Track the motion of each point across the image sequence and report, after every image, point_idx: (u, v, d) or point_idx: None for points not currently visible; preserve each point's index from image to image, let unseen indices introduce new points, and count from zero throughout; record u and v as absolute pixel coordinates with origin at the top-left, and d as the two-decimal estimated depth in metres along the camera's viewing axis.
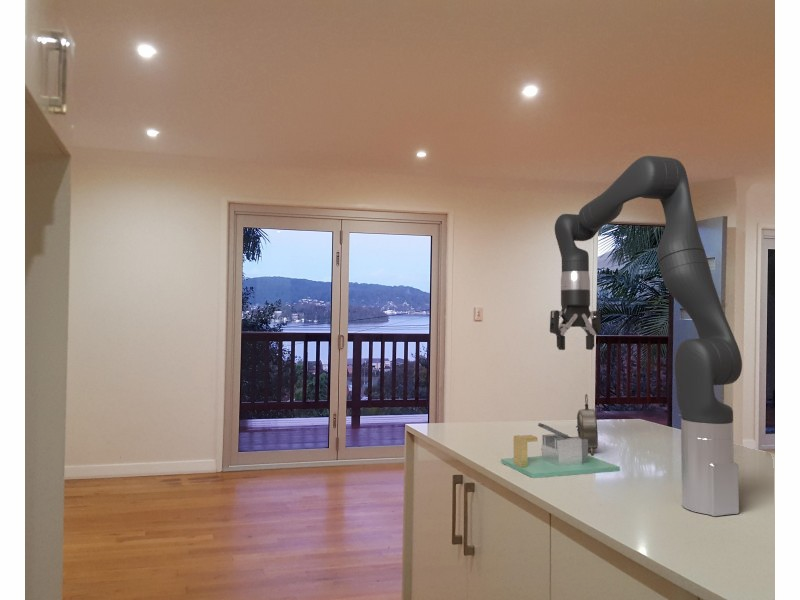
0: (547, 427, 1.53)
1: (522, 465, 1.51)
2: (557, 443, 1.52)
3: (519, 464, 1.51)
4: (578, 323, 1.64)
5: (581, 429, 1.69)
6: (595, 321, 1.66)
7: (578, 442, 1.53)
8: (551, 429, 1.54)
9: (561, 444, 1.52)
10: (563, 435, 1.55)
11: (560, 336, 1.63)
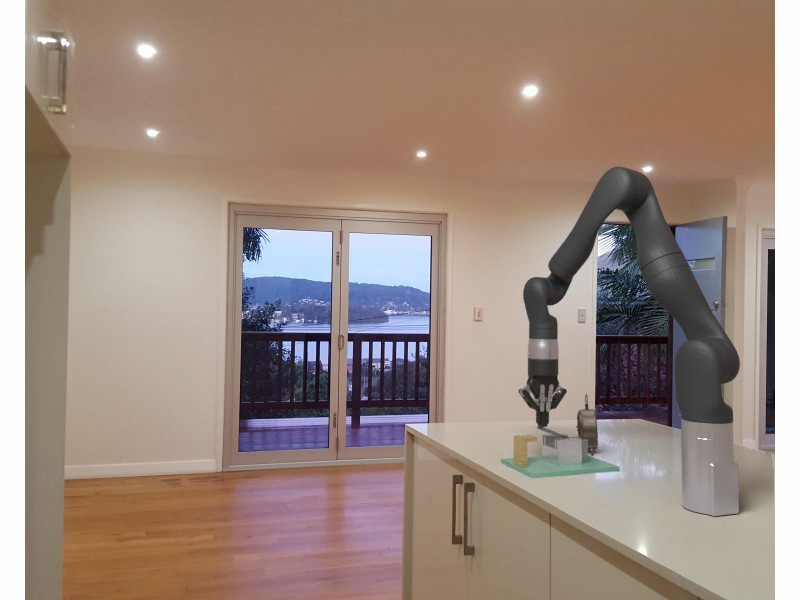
0: (546, 429, 1.53)
1: (522, 465, 1.51)
2: (557, 443, 1.52)
3: (519, 464, 1.51)
4: (545, 394, 1.54)
5: (581, 429, 1.69)
6: (557, 396, 1.56)
7: (578, 442, 1.53)
8: (550, 431, 1.54)
9: (561, 444, 1.52)
10: (563, 436, 1.55)
11: (539, 412, 1.54)
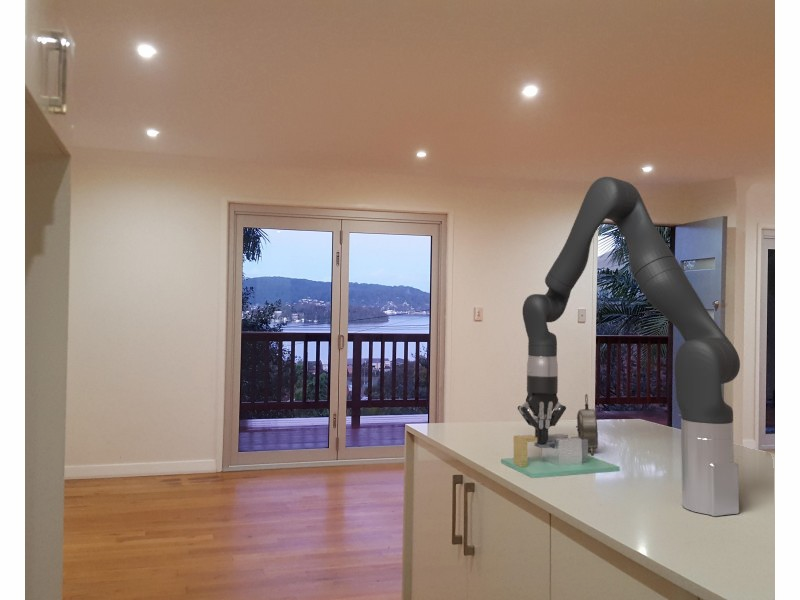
0: (543, 446, 1.53)
1: (522, 465, 1.51)
2: (557, 443, 1.52)
3: (519, 464, 1.51)
4: (544, 411, 1.54)
5: (581, 429, 1.69)
6: (556, 413, 1.56)
7: (578, 442, 1.53)
8: (548, 446, 1.53)
9: (561, 444, 1.52)
10: None
11: (539, 429, 1.54)
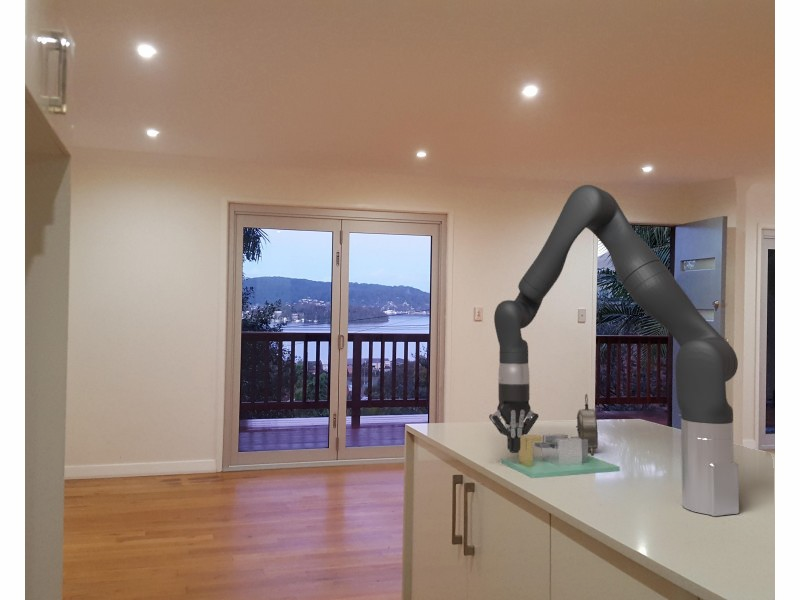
0: (543, 446, 1.53)
1: (527, 465, 1.51)
2: (557, 443, 1.52)
3: (524, 464, 1.52)
4: (516, 419, 1.51)
5: (581, 429, 1.69)
6: (528, 421, 1.53)
7: (578, 442, 1.53)
8: (548, 446, 1.53)
9: (561, 444, 1.52)
10: None
11: (511, 438, 1.51)
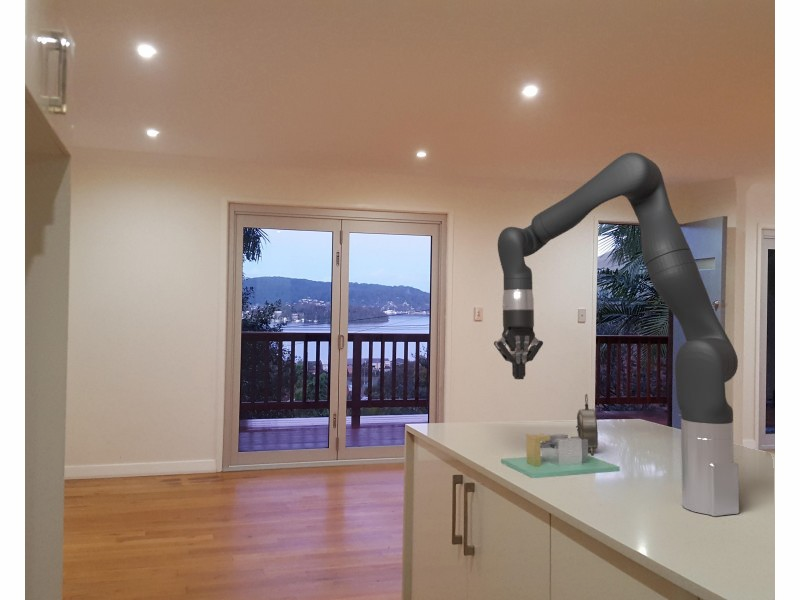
0: (543, 446, 1.53)
1: (535, 464, 1.52)
2: (557, 443, 1.52)
3: (532, 463, 1.52)
4: (521, 346, 1.51)
5: (581, 429, 1.69)
6: (533, 348, 1.53)
7: (578, 442, 1.53)
8: (548, 446, 1.53)
9: (561, 444, 1.52)
10: None
11: (516, 364, 1.51)
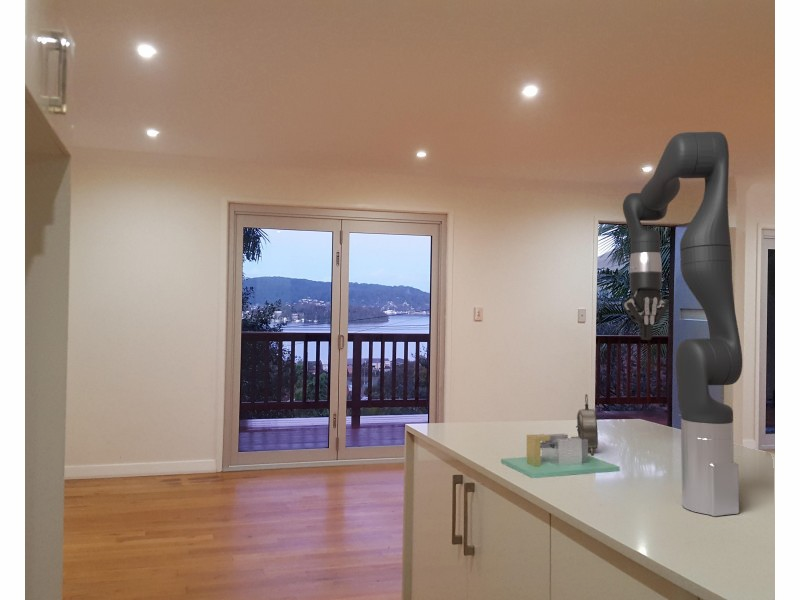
0: (543, 446, 1.53)
1: (535, 464, 1.52)
2: (557, 443, 1.52)
3: (532, 463, 1.52)
4: (649, 307, 1.56)
5: (581, 429, 1.69)
6: (659, 310, 1.57)
7: (578, 442, 1.53)
8: (548, 446, 1.53)
9: (561, 444, 1.52)
10: None
11: (644, 325, 1.56)
